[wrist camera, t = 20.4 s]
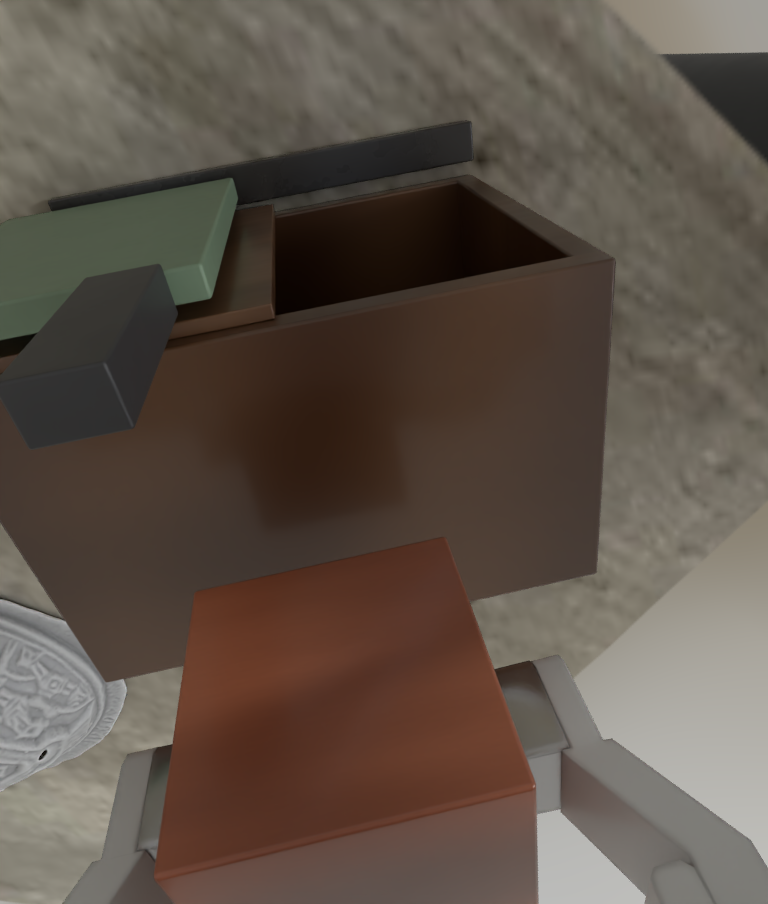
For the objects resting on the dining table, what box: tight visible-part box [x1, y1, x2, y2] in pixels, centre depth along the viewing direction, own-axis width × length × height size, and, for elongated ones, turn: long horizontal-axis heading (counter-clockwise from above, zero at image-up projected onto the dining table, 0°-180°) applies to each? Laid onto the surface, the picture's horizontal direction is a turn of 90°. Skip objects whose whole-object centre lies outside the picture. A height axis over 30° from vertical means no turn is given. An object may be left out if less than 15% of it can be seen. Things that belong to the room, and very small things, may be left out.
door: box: [0, 178, 238, 450], centre depth 14 cm, size 7×1×14 cm, turn 99°
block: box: [154, 537, 538, 904], centre depth 10 cm, size 5×5×5 cm
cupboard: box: [0, 120, 616, 683], centre depth 19 cm, size 14×11×11 cm
